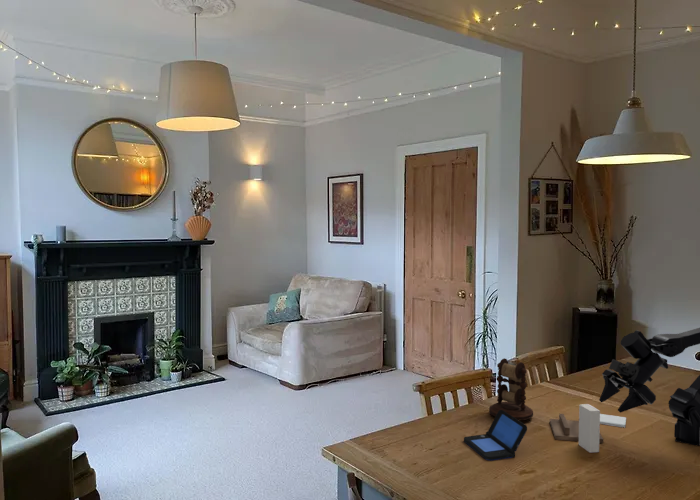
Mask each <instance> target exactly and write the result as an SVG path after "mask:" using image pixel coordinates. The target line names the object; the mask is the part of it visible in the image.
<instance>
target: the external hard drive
mask: <svg viewBox="0 0 700 500" xmlns="http://www.w3.org/2000/svg"><path fill="white" fill-rule="evenodd" d="M626 423H627V417H625V416H618V415H611V414H605V413H604V414H603V413H600V425H605V426H613V427H618V428H623V427H624V428H623V429H625V428H626Z"/></svg>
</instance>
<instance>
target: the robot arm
mask: <svg viewBox="0 0 700 500" xmlns="http://www.w3.org/2000/svg"><path fill="white" fill-rule="evenodd" d="M696 345H700V327H697V328H693V329H690V330H687V331H683V332H679V333H660V334H655V335H654V336H652V338H647V337H645V336H644V334H643V333H642V331H640V330H637V329H636V330H634V332H630V333H628V334H626V335H624V336H623V337H622V339H621V340H620V346H622V347H623V349H625V351H627V353H628V354H629V355H630V356H631V357H632V358H633V359H636V361H635V362H634V363H632V362H629V361H627V362H626V363H624V362H621V361H618V360H616V359H614V358H612V360H611V362H610V365H609V366H608V369H605V370H604V371H603V372H602V374H601V375H602V378H603V380H604V386H603V389H602V392H601V393H600V394H601V395H600V397H599V400H598V401H599V402H600V403H604V402H605V401H607V400H609V399H611V398H612V397H614V396H615V395H617V393H619V392H621V390H620V389H623V388H626V389H628V396H627V397H626V398H625V399H624V400H623V402H621V404H620V405H619V407H618V408H617V412H618V413H620V414H621V413H623V412H626V411H629V410H631V409H634V408H639V407H642V406H648V405H649V404H650V405H653V404H654V402H655V401H657V395H656V394H655V393H654V392H653V391H652V390H651V389H650V388H649V387H648V385H645V384H646V383H647V382H650V383H651V382H652V381H653V378H652V377H653V375H654V374H655V373H656V372H657V371H658V369H659V368H663V369H666V370H667V369H669V364H668V359H666V358H664V357H662V356H665V357H669V358H674V357H676V356H678V355H680V354H682V353H684V352H685V350H686V349H687V348H690V347H693V346H696ZM661 355H662V356H661ZM668 408H669V411H670V412H671V416H672V417H673V418H675V419H677V420H676V422H675V424H674V438H675V439H674V442H678V443H684V444H688V445H692V446H697V447H700V374H699V375H698V376H697V378H696V377H695V380H694V381H693V382H692V383H691V384H690V385H689V386H688V387H686V388H684V389H683V388H680V387H677V389H676V390H675V391H674V392H673V394H671V395H670V396H669V401H668Z"/></svg>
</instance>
